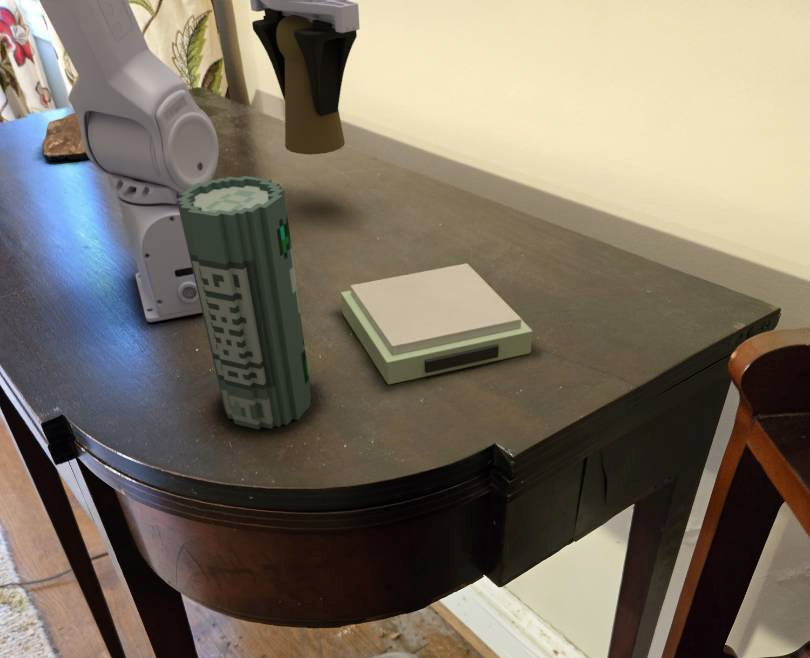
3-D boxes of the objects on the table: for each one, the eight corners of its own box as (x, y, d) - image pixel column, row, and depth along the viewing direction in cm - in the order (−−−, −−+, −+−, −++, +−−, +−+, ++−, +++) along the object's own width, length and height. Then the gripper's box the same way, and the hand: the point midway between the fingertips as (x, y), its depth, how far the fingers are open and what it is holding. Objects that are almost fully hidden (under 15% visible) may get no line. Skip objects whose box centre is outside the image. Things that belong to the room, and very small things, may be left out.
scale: (532, 355, 61) (535, 323, 59) (389, 387, 58) (387, 354, 56) (470, 288, 69) (471, 258, 67) (342, 313, 66) (339, 283, 64)
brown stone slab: (38, 139, 103) (28, 109, 100) (134, 125, 106) (127, 96, 103) (46, 166, 95) (35, 134, 92) (149, 149, 98) (142, 119, 96)
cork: (336, 155, 75) (325, 22, 68) (277, 153, 76) (260, 21, 69) (351, 136, 80) (342, 8, 72) (295, 134, 81) (281, 8, 73)
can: (324, 390, 58) (299, 183, 47) (283, 436, 54) (247, 220, 43) (254, 374, 60) (216, 172, 49) (210, 417, 56) (158, 206, 45)
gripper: (383, -66, 64) (389, 114, 73) (285, -79, 72) (302, 85, 81) (314, -57, 61) (330, 130, 70) (220, -71, 69) (245, 99, 78)
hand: (311, 107), depth 76 cm, fingers closed on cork, 5 cm apart
